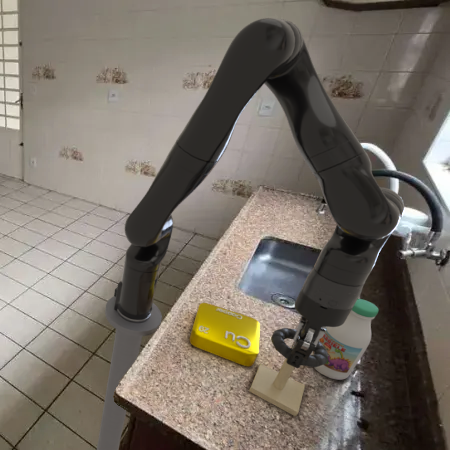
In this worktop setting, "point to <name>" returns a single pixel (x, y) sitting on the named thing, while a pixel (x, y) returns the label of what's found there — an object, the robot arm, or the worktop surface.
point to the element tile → (226, 334)
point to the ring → (279, 344)
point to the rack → (278, 387)
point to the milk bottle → (347, 341)
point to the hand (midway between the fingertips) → (293, 360)
